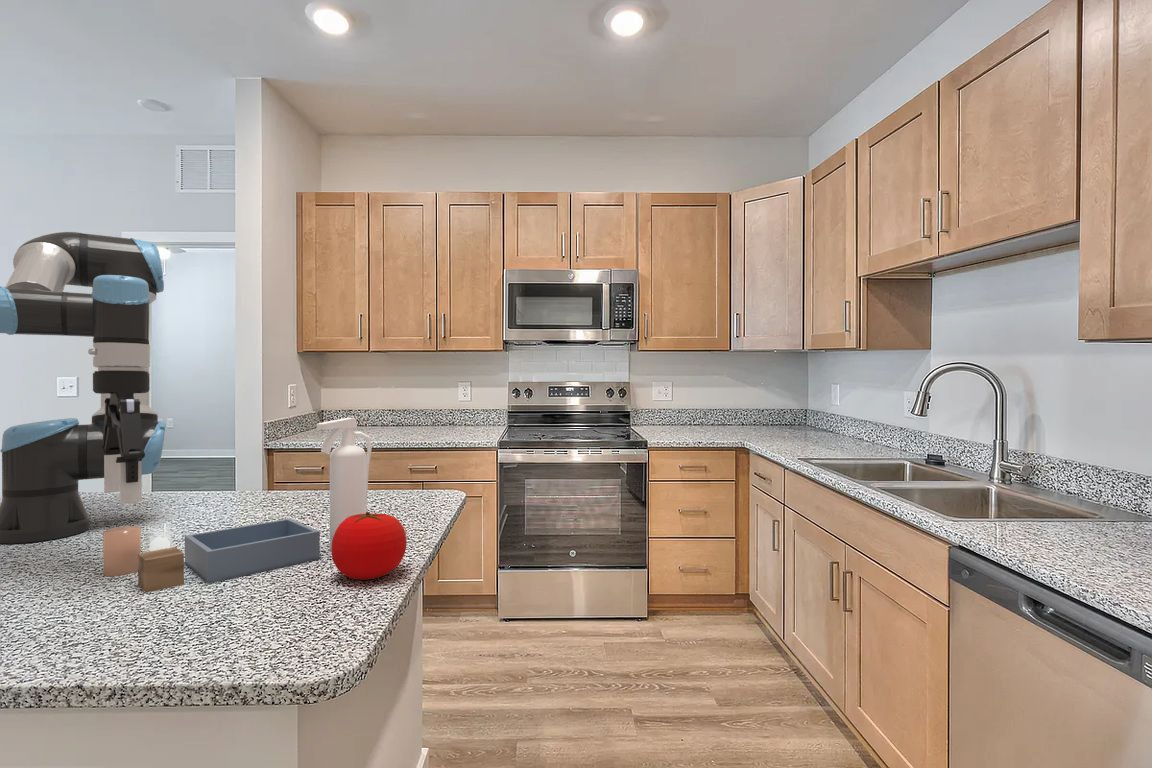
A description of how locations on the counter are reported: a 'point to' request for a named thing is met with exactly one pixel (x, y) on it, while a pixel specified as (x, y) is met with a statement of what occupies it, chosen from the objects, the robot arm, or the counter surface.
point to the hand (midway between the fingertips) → (122, 497)
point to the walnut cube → (160, 569)
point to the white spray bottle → (346, 471)
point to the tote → (250, 549)
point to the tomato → (368, 545)
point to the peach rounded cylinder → (121, 550)
